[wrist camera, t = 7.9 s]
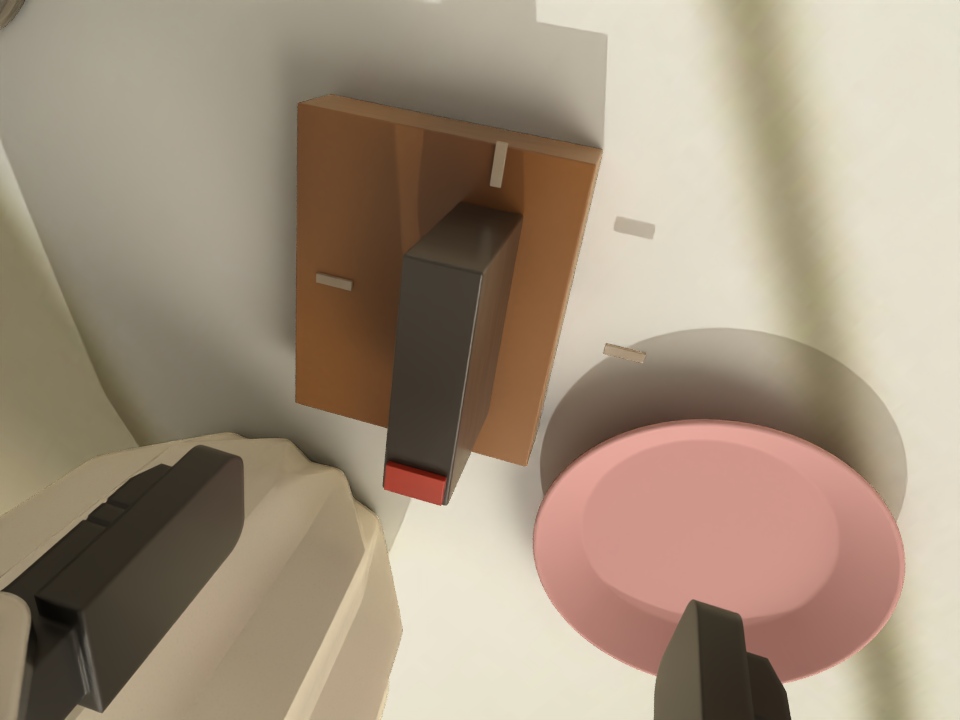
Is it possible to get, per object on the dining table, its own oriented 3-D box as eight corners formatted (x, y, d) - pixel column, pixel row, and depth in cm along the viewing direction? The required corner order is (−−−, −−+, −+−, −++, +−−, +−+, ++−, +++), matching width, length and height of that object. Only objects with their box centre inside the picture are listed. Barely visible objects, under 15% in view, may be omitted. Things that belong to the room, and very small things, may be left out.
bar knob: (459, 200, 22) (398, 256, 17) (524, 214, 22) (481, 276, 17) (433, 400, 26) (378, 493, 21) (488, 415, 26) (444, 512, 21)
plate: (948, 608, 27) (966, 648, 26) (638, 678, 34) (636, 713, 32) (795, 333, 24) (804, 359, 22) (480, 471, 30) (469, 499, 28)
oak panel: (321, 376, 30) (292, 407, 28) (330, 90, 24) (294, 99, 22) (607, 453, 28) (602, 493, 26) (696, 165, 22) (700, 183, 20)
